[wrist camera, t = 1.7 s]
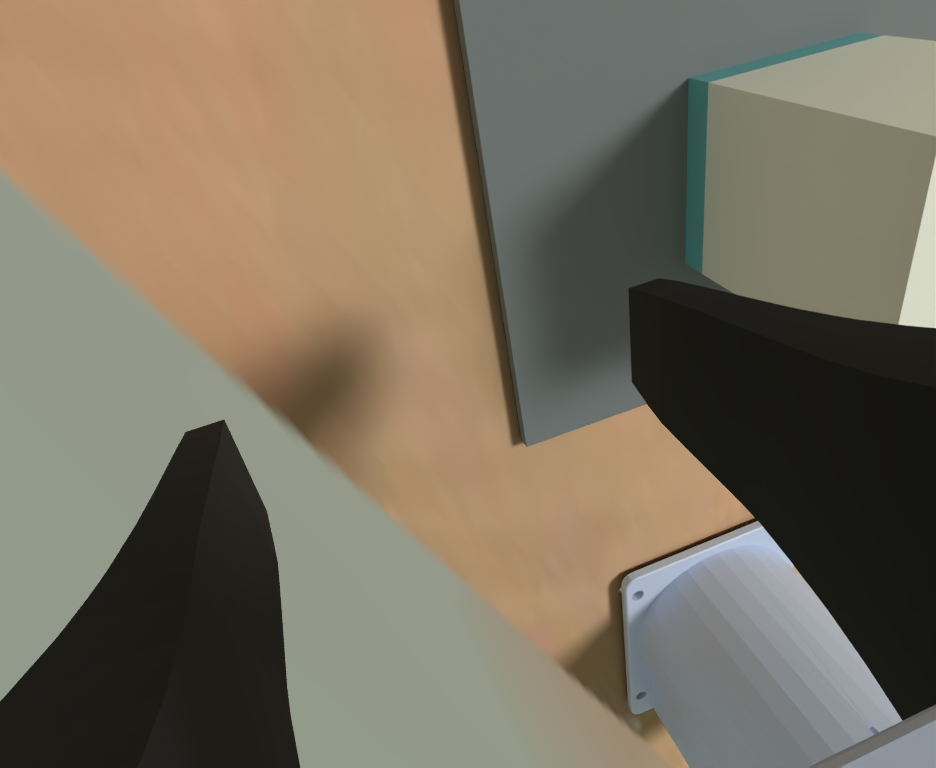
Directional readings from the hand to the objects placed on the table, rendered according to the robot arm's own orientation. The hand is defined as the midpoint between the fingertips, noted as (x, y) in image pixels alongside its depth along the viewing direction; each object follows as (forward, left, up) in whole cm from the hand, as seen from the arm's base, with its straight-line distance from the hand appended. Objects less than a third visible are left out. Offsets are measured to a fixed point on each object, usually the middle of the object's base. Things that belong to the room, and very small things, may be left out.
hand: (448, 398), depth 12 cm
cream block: (0, -11, -6) cm, 13 cm away
